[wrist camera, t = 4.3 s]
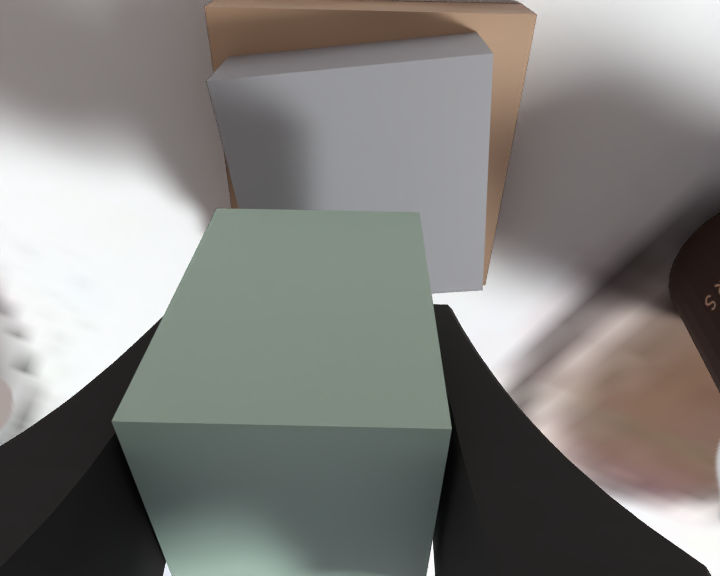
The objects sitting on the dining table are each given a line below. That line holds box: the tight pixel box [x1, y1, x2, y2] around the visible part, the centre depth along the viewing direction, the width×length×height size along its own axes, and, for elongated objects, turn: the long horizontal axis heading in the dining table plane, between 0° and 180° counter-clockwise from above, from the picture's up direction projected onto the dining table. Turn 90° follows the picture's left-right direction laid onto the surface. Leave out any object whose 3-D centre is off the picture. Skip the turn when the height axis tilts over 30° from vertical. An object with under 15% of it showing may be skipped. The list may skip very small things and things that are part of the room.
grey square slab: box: [206, 32, 493, 294], centre depth 16 cm, size 7×7×2 cm
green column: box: [112, 208, 452, 576], centre depth 11 cm, size 4×4×6 cm
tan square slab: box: [205, 0, 537, 285], centre depth 18 cm, size 9×9×2 cm
